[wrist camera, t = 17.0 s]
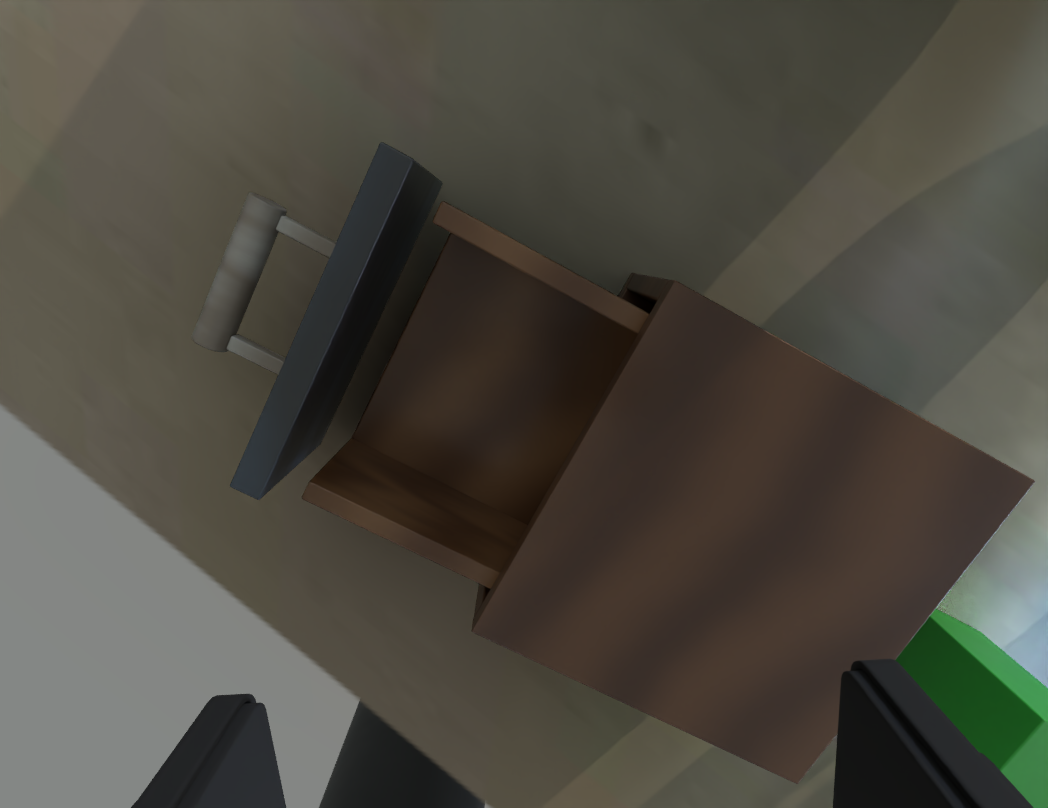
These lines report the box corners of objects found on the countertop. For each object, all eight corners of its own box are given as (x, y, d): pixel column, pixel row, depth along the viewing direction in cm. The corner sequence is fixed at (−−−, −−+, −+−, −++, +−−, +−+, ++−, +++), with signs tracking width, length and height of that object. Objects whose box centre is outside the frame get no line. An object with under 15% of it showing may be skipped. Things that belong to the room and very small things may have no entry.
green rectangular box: (863, 642, 32) (986, 786, 24) (902, 591, 32) (1045, 719, 23) (939, 681, 33) (1087, 835, 24) (980, 631, 32) (1148, 772, 23)
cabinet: (486, 530, 31) (470, 632, 23) (631, 272, 28) (674, 280, 20) (729, 648, 33) (797, 785, 24) (892, 416, 29) (1036, 481, 21)
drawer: (214, 393, 29) (119, 435, 22) (328, 119, 26) (258, 73, 19) (546, 555, 30) (550, 639, 24) (687, 317, 27) (737, 338, 21)
